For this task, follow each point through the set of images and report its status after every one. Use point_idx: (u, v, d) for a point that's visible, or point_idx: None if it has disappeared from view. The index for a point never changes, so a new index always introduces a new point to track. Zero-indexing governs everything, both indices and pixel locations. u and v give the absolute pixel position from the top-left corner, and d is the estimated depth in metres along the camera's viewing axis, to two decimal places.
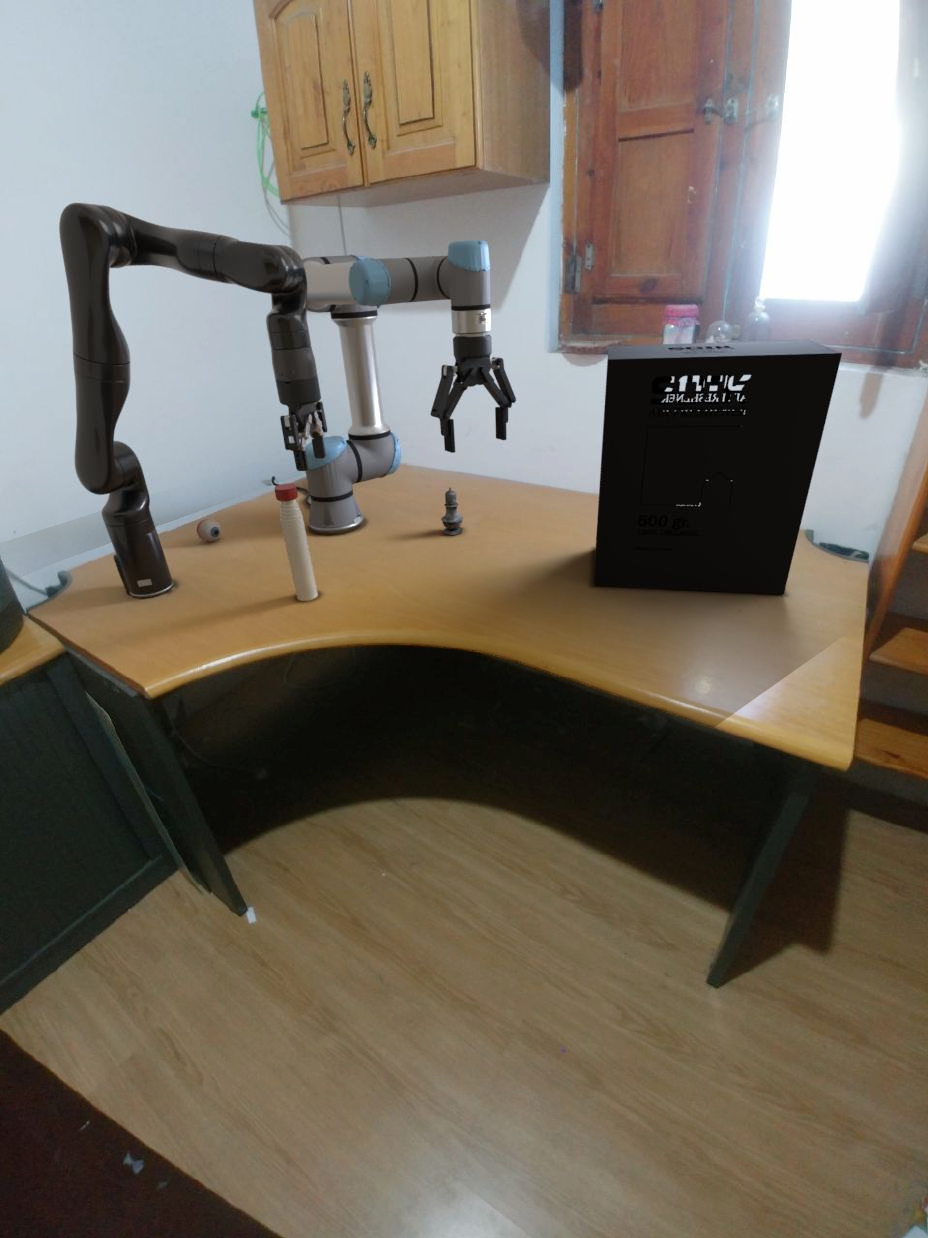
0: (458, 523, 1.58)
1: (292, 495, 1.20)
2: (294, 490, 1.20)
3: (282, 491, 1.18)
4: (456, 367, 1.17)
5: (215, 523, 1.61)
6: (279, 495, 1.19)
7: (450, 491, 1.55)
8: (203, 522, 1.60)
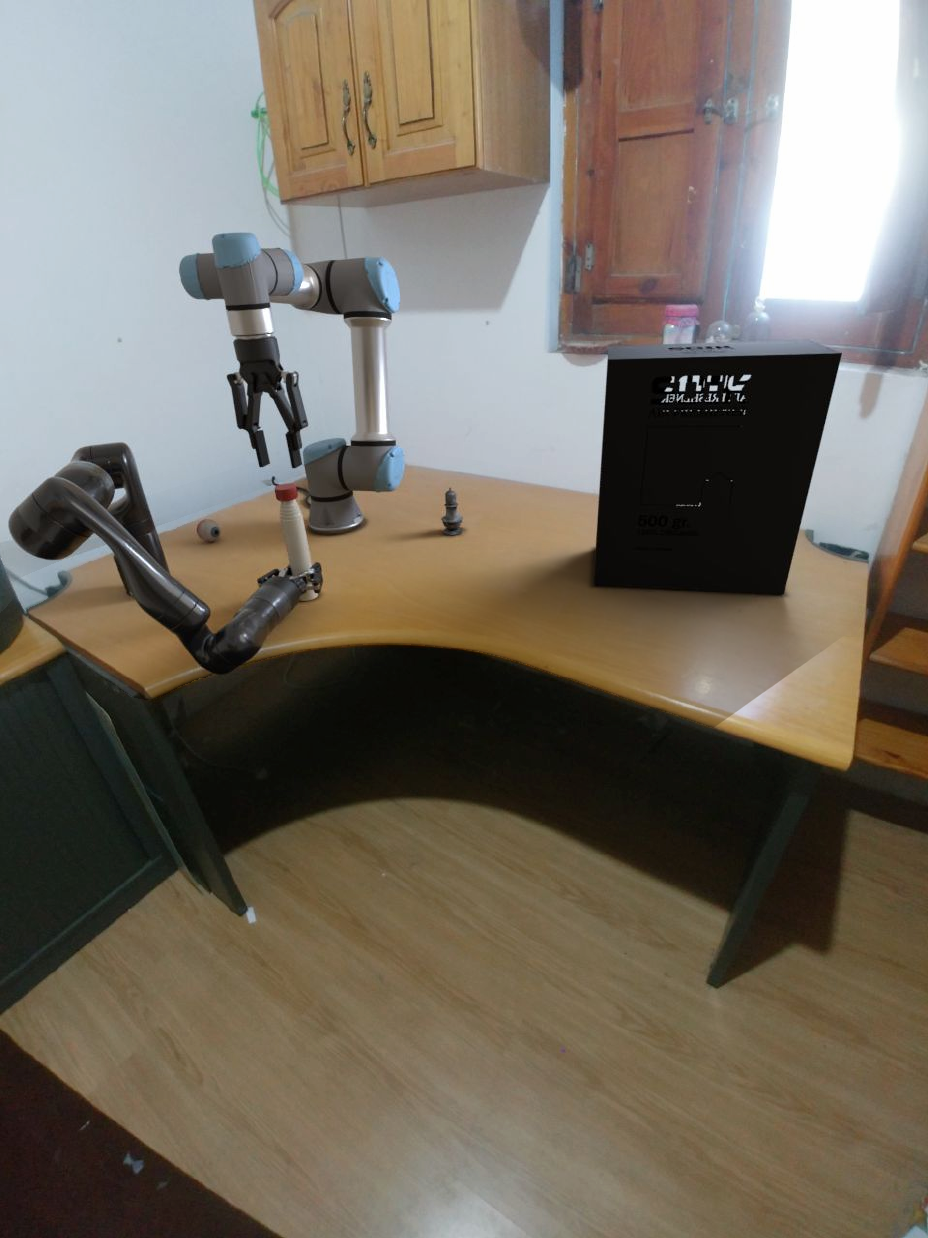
0: (458, 523, 1.58)
1: (292, 495, 1.20)
2: (294, 490, 1.20)
3: (282, 491, 1.18)
4: None
5: (215, 523, 1.61)
6: (279, 495, 1.19)
7: (450, 491, 1.55)
8: (203, 522, 1.60)
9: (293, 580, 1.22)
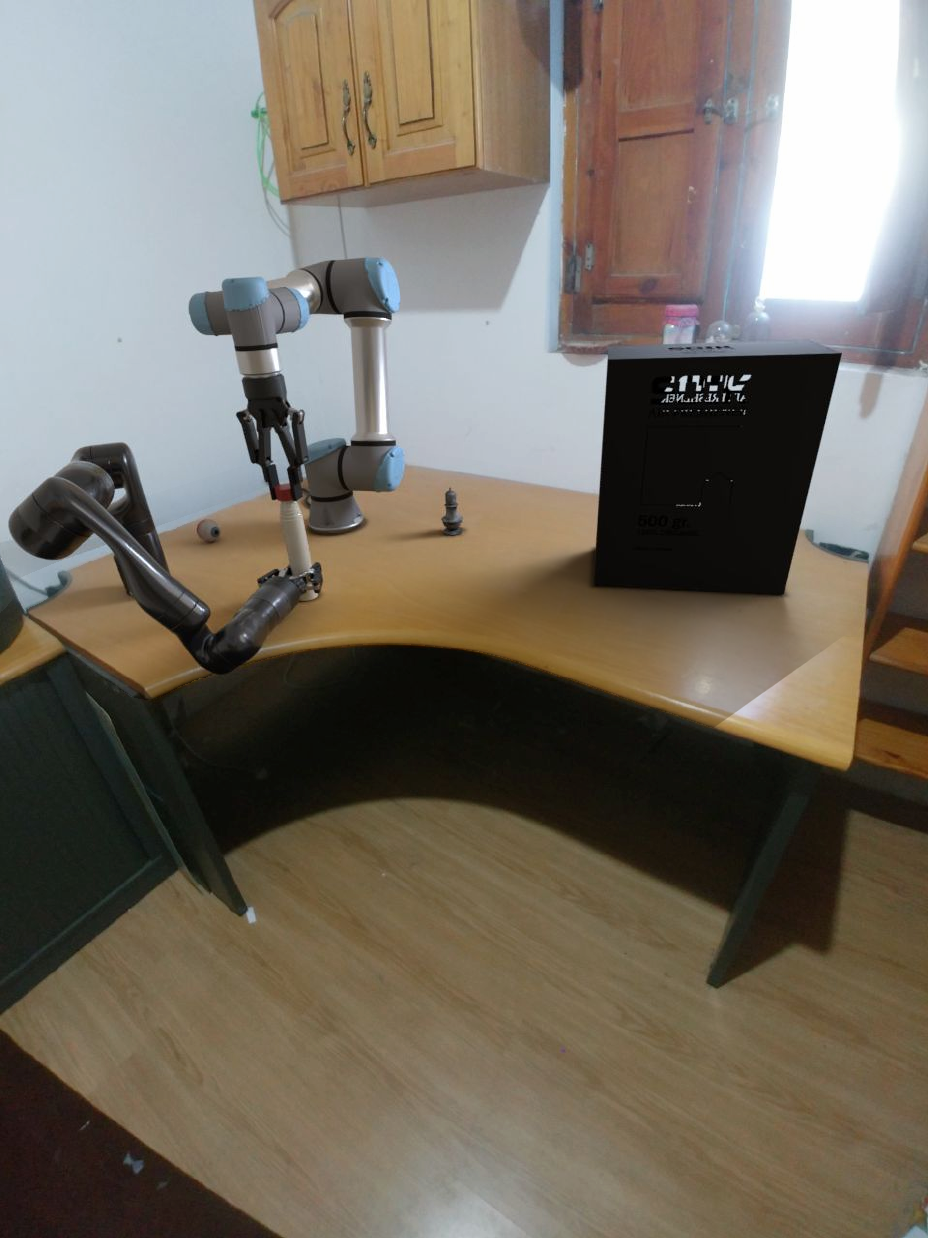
0: (458, 523, 1.58)
1: None
2: None
3: (282, 491, 1.18)
4: None
5: (215, 523, 1.61)
6: (279, 495, 1.19)
7: (450, 491, 1.55)
8: (203, 522, 1.60)
9: (293, 580, 1.22)
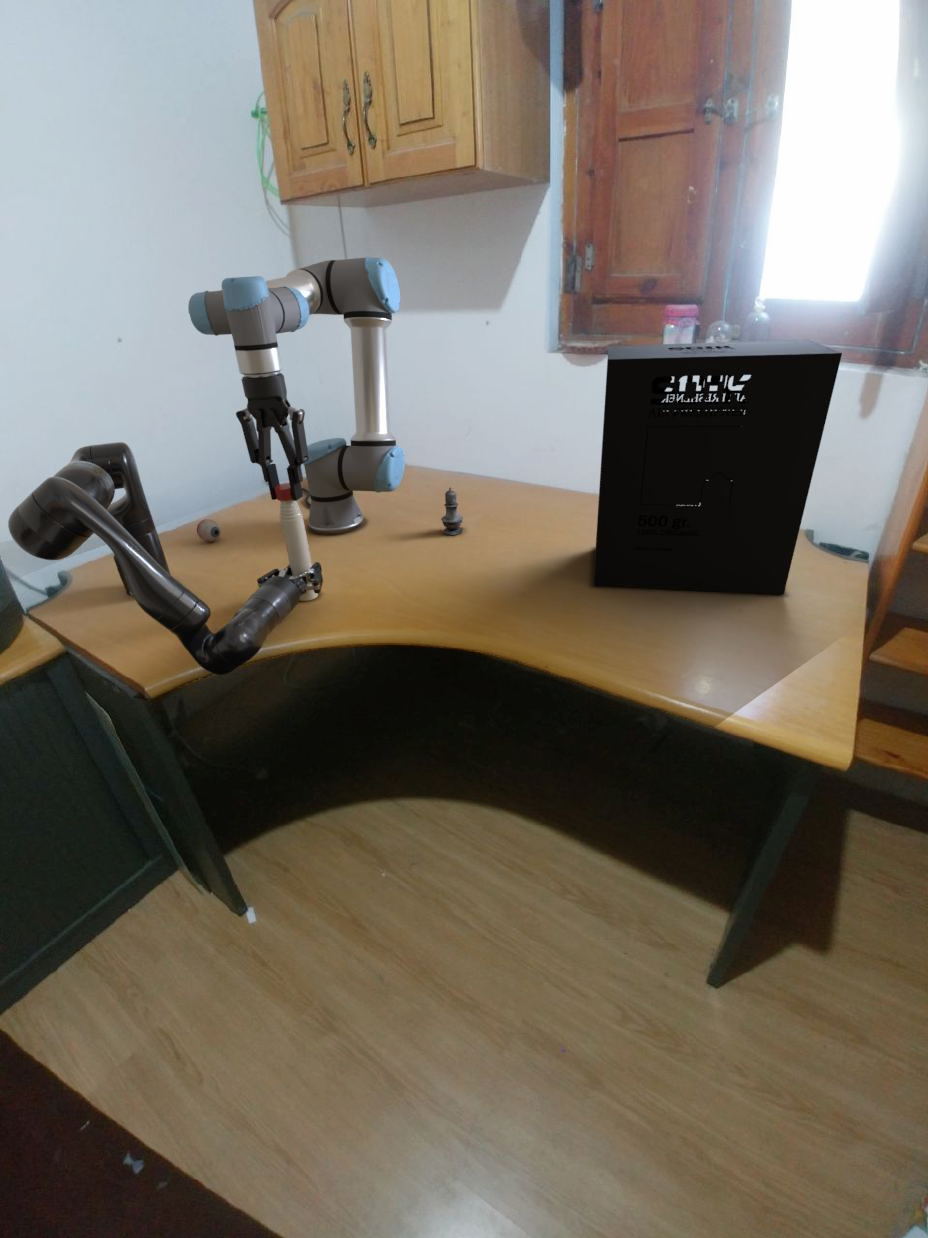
0: (458, 523, 1.58)
1: None
2: None
3: None
4: None
5: (215, 523, 1.61)
6: None
7: (450, 491, 1.55)
8: (203, 522, 1.60)
9: (293, 580, 1.22)
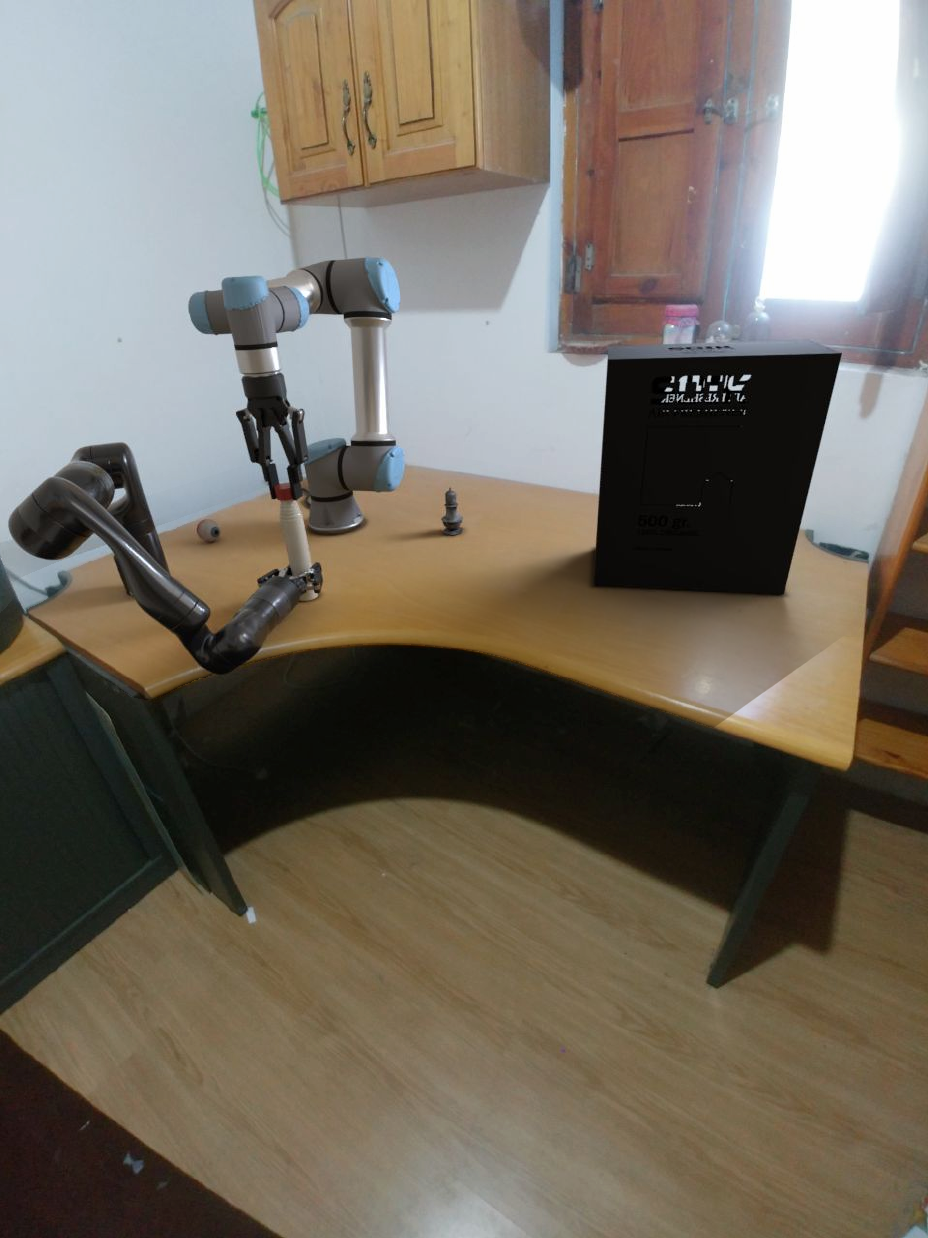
0: (458, 523, 1.58)
1: None
2: None
3: None
4: None
5: (215, 523, 1.61)
6: None
7: (450, 491, 1.55)
8: (203, 522, 1.60)
9: (293, 580, 1.22)
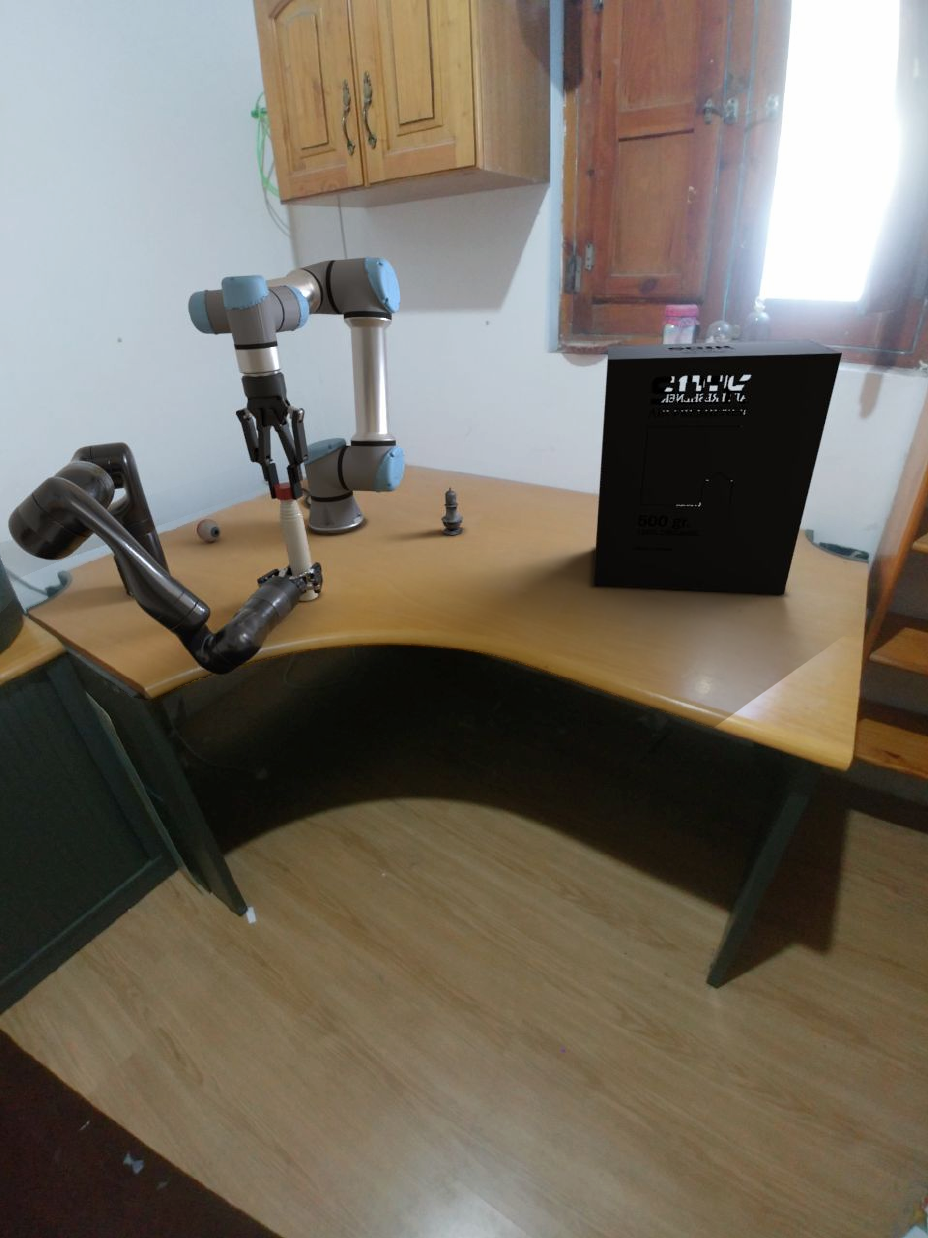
0: (458, 523, 1.58)
1: (279, 495, 1.19)
2: (282, 491, 1.19)
3: None
4: None
5: (215, 523, 1.61)
6: None
7: (450, 491, 1.55)
8: (203, 522, 1.60)
9: (293, 580, 1.22)
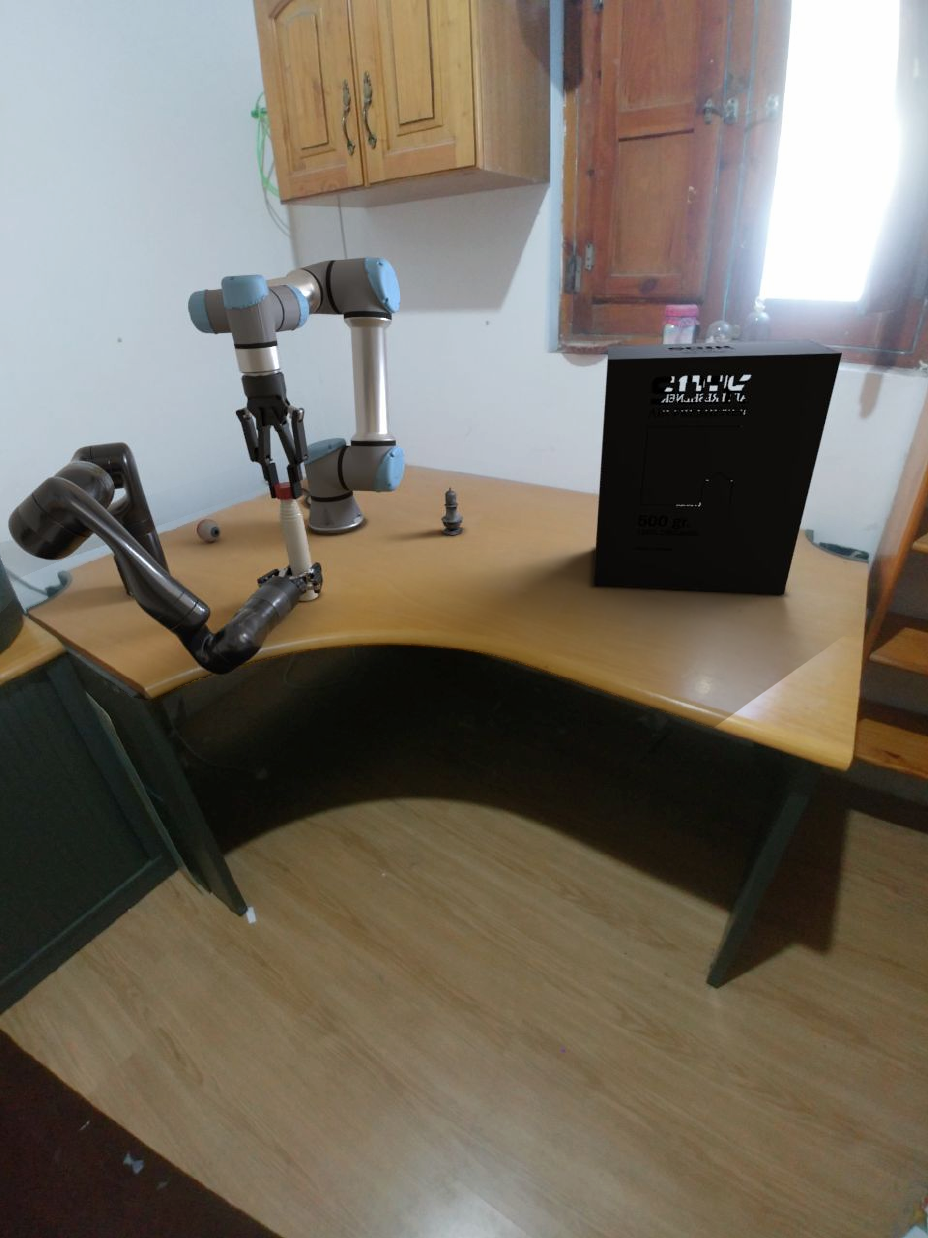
0: (458, 523, 1.58)
1: None
2: None
3: (286, 489, 1.18)
4: None
5: (215, 523, 1.61)
6: (282, 494, 1.19)
7: (450, 491, 1.55)
8: (203, 522, 1.60)
9: (293, 580, 1.22)
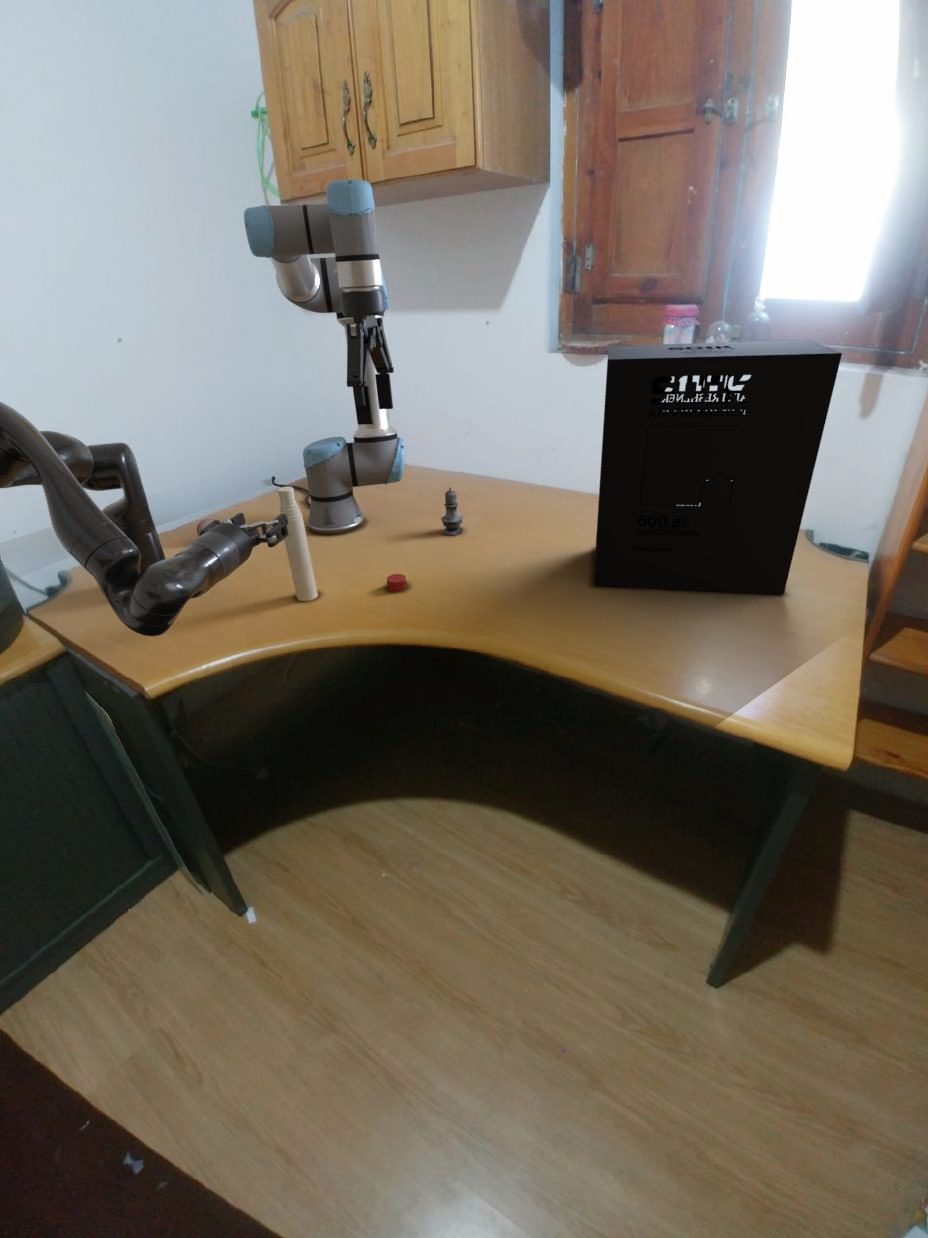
0: (458, 523, 1.58)
1: None
2: None
3: None
4: None
5: None
6: None
7: (450, 491, 1.55)
8: (203, 522, 1.60)
9: (244, 529, 1.03)
